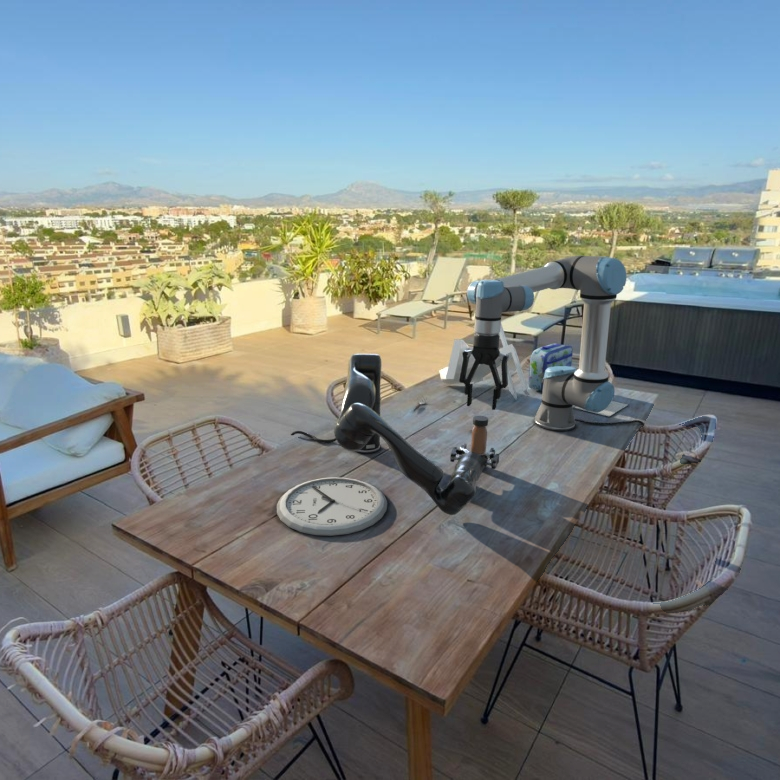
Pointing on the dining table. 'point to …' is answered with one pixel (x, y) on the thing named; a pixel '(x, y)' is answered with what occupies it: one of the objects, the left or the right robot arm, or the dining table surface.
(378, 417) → the left robot arm
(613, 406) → the invitation card
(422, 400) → the fork
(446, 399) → the dining table surface
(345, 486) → the wall clock
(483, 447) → the bottle
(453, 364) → the white plastic object
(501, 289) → the right robot arm
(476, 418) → the cap
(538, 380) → the lunch box
